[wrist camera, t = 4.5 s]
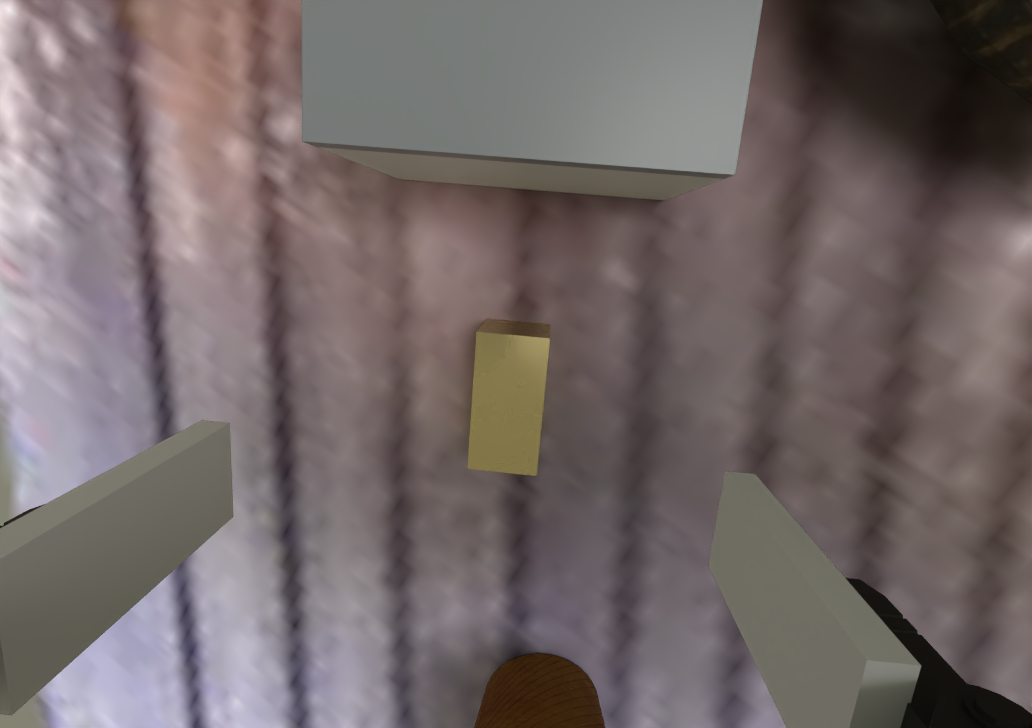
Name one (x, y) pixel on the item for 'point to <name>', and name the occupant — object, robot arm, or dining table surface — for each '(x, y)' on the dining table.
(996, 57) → the ceramic pot
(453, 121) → the box
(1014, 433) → the dining table surface
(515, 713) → the disposable coffee cup
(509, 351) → the yellow rectangular block
